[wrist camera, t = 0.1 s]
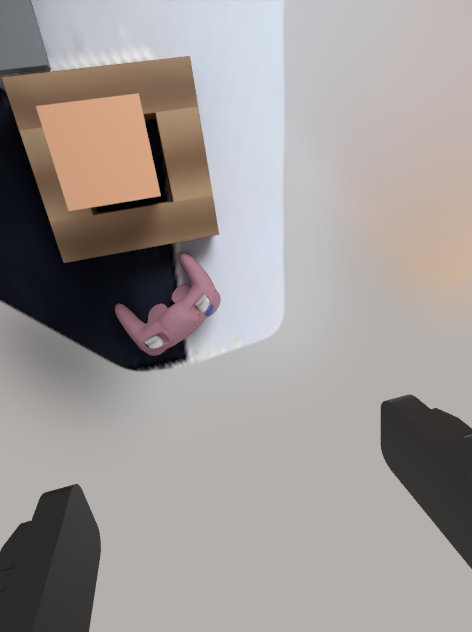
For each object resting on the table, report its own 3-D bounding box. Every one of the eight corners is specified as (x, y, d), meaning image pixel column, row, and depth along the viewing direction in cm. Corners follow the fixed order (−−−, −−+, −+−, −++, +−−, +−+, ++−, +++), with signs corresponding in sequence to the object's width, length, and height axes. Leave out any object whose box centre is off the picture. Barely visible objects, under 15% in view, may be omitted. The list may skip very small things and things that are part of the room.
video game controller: (137, 326, 39) (156, 372, 35) (108, 305, 36) (124, 353, 31) (206, 270, 39) (235, 309, 34) (183, 243, 35) (212, 283, 31)
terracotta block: (89, 140, 31) (35, 106, 17) (147, 132, 32) (138, 93, 18) (106, 200, 33) (68, 211, 19) (159, 191, 34) (160, 196, 20)
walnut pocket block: (16, 87, 29) (1, 77, 26) (187, 67, 31) (189, 56, 28) (71, 256, 34) (63, 263, 31) (214, 230, 36) (219, 234, 33)
